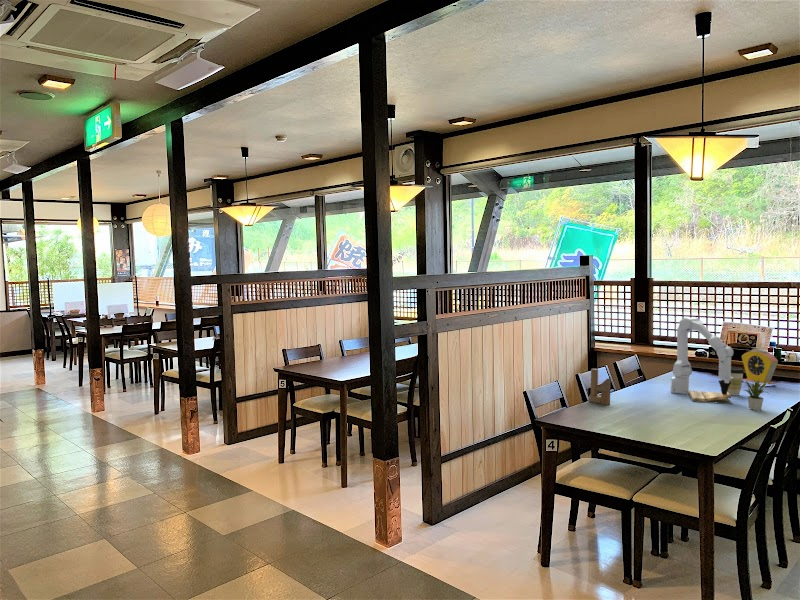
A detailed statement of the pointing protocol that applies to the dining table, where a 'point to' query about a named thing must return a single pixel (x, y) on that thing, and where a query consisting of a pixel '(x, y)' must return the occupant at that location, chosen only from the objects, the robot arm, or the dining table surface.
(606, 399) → the wooden block
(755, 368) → the yellow mantel clock
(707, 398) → the oak plank
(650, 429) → the dining table surface
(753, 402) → the house plant
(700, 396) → the floor panel
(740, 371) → the coffee cup
